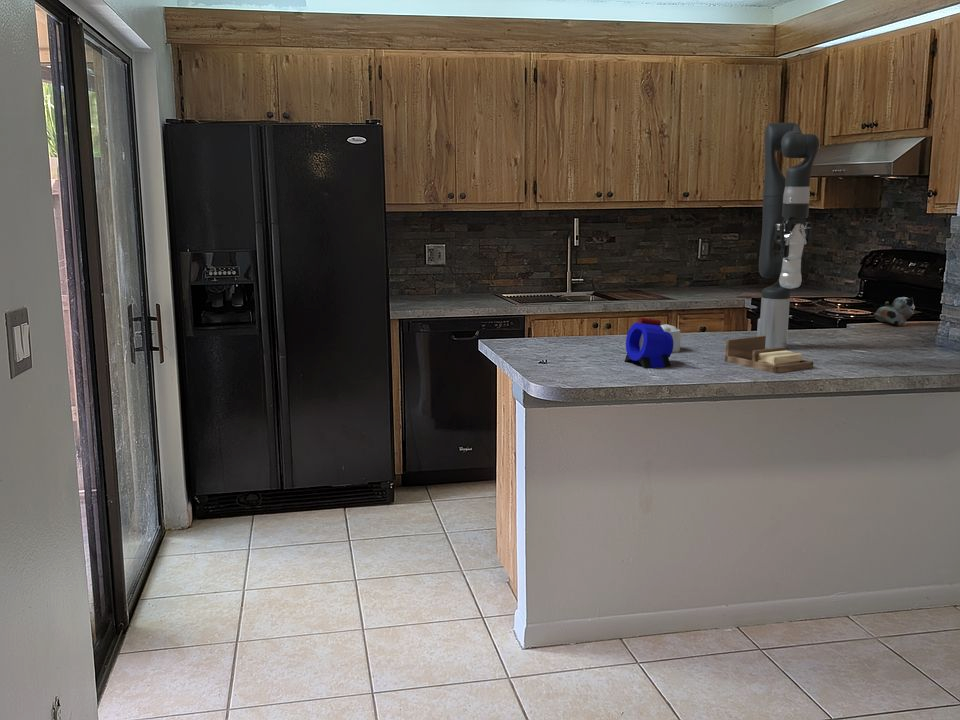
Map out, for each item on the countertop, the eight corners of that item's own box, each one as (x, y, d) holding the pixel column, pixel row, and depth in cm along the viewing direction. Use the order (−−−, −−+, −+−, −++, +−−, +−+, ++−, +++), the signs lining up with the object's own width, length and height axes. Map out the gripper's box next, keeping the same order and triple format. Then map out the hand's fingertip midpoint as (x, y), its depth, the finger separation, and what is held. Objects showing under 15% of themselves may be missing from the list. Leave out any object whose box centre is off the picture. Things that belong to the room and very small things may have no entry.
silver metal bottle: (773, 287, 274) (778, 222, 270) (790, 286, 276) (795, 222, 272) (788, 290, 268) (793, 223, 264) (805, 289, 271) (810, 223, 267)
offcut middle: (757, 366, 265) (757, 360, 265) (782, 363, 271) (782, 356, 270) (774, 370, 260) (774, 364, 259) (799, 366, 265) (799, 360, 265)
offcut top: (758, 359, 265) (758, 353, 265) (785, 356, 270) (786, 350, 270) (773, 363, 260) (774, 357, 259) (801, 360, 264) (802, 353, 264)
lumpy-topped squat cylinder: (683, 352, 296) (684, 326, 294) (649, 354, 292) (650, 328, 290) (667, 346, 306) (668, 322, 304) (633, 348, 302) (634, 323, 300)
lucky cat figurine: (877, 320, 365) (896, 291, 362) (903, 335, 358) (924, 305, 355) (868, 314, 353) (889, 284, 350) (896, 329, 346) (917, 298, 343)
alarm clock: (622, 361, 279) (623, 314, 276) (655, 359, 283) (657, 312, 281) (642, 369, 268) (644, 320, 265) (677, 366, 272) (679, 318, 269)
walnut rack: (724, 365, 274) (726, 339, 272) (761, 360, 281) (763, 335, 280) (774, 377, 256) (776, 350, 255) (812, 371, 264) (814, 345, 263)
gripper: (802, 201, 273) (798, 255, 277) (769, 201, 267) (765, 257, 270) (822, 201, 267) (818, 257, 270) (788, 202, 260) (784, 259, 264)
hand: (792, 257), depth 270 cm, fingers closed on silver metal bottle, 6 cm apart
